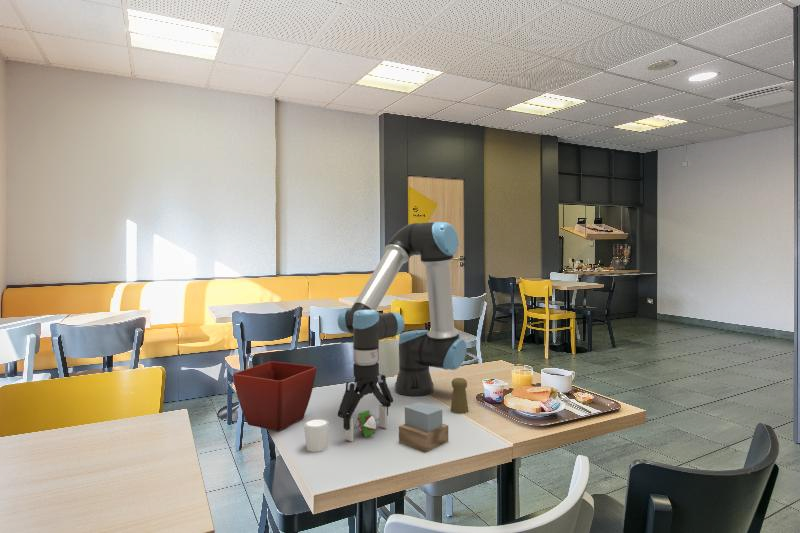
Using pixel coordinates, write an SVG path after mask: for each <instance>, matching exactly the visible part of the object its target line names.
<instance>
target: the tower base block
mask: <svg viewBox="0 0 800 533" xmlns="http://www.w3.org/2000/svg"><path fill="white" fill-rule="evenodd" d="M398 442H399V443H400V444H402V445H404V446H407V447H410V448H413V449H415V450H418V451H421V452H423V453H428V452H430V451H432V450H434V449H437V448H438V447H440V446H442V445H444V444H447V443H448V442H449V424H446V423H444V422H442V427H441V428H438V429H436V430H433V431H431V432H425V431H422V430H420V429H417V428H414V427H411V426H409V425H406V424H405V423H402V424H400V425H398Z"/></svg>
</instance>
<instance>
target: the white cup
mask: <svg viewBox="0 0 800 533" xmlns="http://www.w3.org/2000/svg"><path fill="white" fill-rule="evenodd" d="M329 426H330V421H328V419H324V418H313V419H309V420H307V421H305V422H304V426H303V427H304V434H305V435H304V436H305V446H306V450H307V451H309V452H313V453H314V452H315V453H316V452H318V453H319V452H323V451H324V450H327V448H328V440H329Z"/></svg>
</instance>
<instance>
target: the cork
mask: <svg viewBox="0 0 800 533" xmlns="http://www.w3.org/2000/svg"><path fill="white" fill-rule="evenodd" d="M451 386H452V389H453V390H452V398H451V403H450V404H451V405H450V412H451V413H453V414H458V415H460V414H461V413H464V414H466V412H467V413H469V406H468V398H467V390H466V388H468V382H467V380H466V379H465V378H464V377H463V378H462V377H456V378H455V377H454V378H453V379H452V380H451ZM461 415H462V414H461Z"/></svg>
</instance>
